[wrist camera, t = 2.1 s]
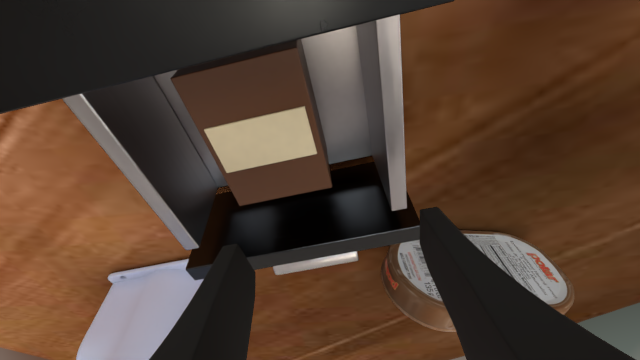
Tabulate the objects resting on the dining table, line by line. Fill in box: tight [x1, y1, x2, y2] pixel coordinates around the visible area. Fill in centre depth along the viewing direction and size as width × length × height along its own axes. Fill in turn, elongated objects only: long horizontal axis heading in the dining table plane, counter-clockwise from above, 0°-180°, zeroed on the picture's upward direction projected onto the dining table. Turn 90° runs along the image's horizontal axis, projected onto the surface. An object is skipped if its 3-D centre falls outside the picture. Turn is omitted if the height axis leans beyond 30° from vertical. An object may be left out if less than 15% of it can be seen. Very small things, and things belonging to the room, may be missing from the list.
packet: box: [170, 39, 332, 206], centre depth 15 cm, size 5×7×4 cm
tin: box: [381, 230, 574, 332], centre depth 25 cm, size 15×3×8 cm, turn 84°
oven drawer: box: [62, 15, 420, 280], centre depth 17 cm, size 18×13×6 cm
